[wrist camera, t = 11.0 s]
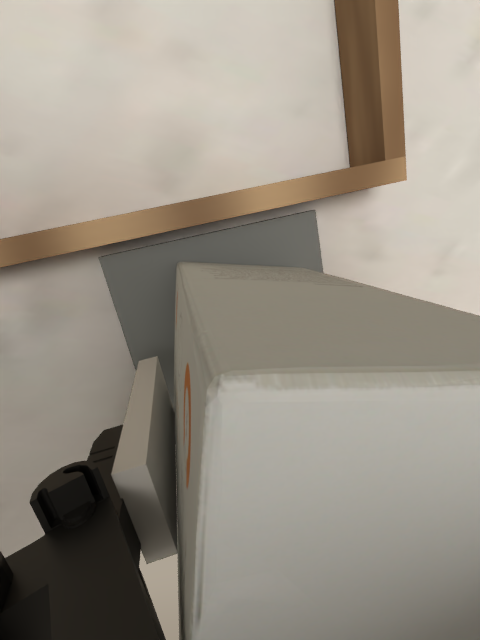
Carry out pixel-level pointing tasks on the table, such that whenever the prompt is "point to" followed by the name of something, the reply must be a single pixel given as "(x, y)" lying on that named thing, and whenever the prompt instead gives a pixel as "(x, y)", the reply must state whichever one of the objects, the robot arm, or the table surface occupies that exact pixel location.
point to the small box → (324, 459)
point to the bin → (365, 172)
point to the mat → (216, 247)
